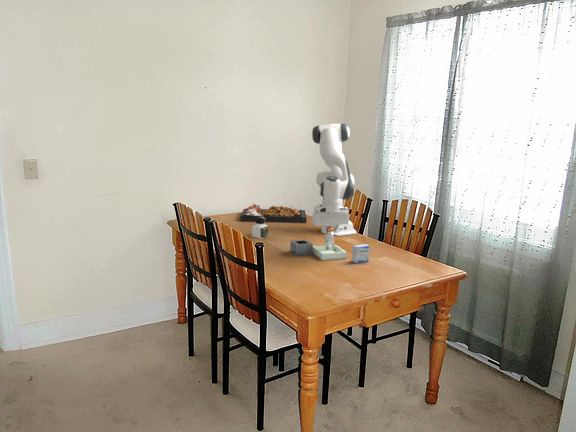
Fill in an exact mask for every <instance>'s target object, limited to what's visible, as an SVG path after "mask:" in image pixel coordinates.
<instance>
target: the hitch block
mask: <svg viewBox="0 0 576 432" xmlns="http://www.w3.org/2000/svg"><path fill="white" fill-rule="evenodd" d="M289 242H290V243H289V244H290V245H289V247H290V248H289V249H290V250H289V251H290V252H291V253H292V254H293V255H294V256H295V257H302V256H303V257H304V256H313V253H312V252H313V246H314V244H313V243H312V242H311V241H309V240H308V239H294V240H293V239H292V240H290V241H289Z"/></svg>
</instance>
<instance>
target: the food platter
mask: <svg viewBox="0 0 576 432" xmlns="http://www.w3.org/2000/svg"><path fill="white" fill-rule="evenodd" d="M257 217H264V218H265V223H274V222H277V223H280V224H281V223H284V224H285V223H286V224H307V213H306V210H302V209H296V208H292V207H291V206H290V207H287V206H285V207H284V206H282V205H281V206H275V205H271V206H270V207H269V208H265V209H263V208H261V207H260V204H258V205H257V204H255V203H254V202H253V201H252V204H251V205H250V206H248V207H246V208H243V210H242V212H241V215H240V222H242V223H244V222H245V223H246V222H248V223H255V218H257Z"/></svg>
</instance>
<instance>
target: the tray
mask: <svg viewBox="0 0 576 432" xmlns="http://www.w3.org/2000/svg"><path fill="white" fill-rule="evenodd" d="M312 255H314V256H316V257H317V258H318V259H319V260H321V261H331V260H344V259H345V260H346V259H347V258H348V257H347V256H348V252H347V251H346V250H344V248H343V249H342V247H340V246H338V245H337V244H333V250H326V249H325V245H317V246H314V245H313V252H312Z"/></svg>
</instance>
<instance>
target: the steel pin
mask: <svg viewBox="0 0 576 432" xmlns="http://www.w3.org/2000/svg"><path fill="white" fill-rule="evenodd" d="M326 230H327V233H326V234H325V241H324V246H325V249H326V250H333V245H334V243H335V242H334V240H335V237H334V236H335V235H334V227H333V226H326Z"/></svg>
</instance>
